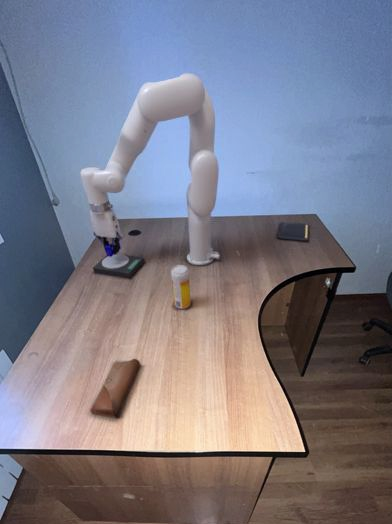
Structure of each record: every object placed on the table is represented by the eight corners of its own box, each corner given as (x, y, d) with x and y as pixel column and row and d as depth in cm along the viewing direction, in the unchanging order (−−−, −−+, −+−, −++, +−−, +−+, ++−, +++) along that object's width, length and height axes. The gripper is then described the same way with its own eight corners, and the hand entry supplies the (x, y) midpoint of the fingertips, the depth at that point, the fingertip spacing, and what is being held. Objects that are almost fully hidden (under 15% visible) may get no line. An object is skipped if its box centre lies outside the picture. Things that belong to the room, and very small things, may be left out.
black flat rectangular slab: (281, 219, 146) (310, 222, 142) (280, 223, 147) (309, 226, 143) (277, 235, 133) (308, 238, 129) (276, 238, 134) (307, 242, 131)
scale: (144, 262, 122) (143, 256, 120) (130, 278, 113) (128, 272, 111) (110, 257, 127) (108, 251, 124) (94, 272, 118) (92, 266, 115)
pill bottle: (192, 301, 101) (191, 265, 90) (187, 311, 97) (184, 275, 86) (178, 298, 102) (174, 263, 92) (172, 308, 99) (167, 272, 88)
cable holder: (114, 247, 118) (111, 238, 115) (120, 248, 117) (118, 239, 114) (104, 255, 113) (101, 246, 110) (111, 256, 112) (108, 247, 109)
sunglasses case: (114, 361, 81) (120, 349, 76) (135, 370, 83) (142, 360, 78) (88, 413, 69) (93, 403, 64) (113, 423, 71) (120, 414, 66)
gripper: (124, 204, 102) (133, 250, 115) (87, 201, 106) (100, 245, 119) (114, 212, 97) (125, 258, 111) (76, 208, 101) (91, 253, 115)
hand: (112, 251), depth 115 cm, fingers closed on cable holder, 3 cm apart
